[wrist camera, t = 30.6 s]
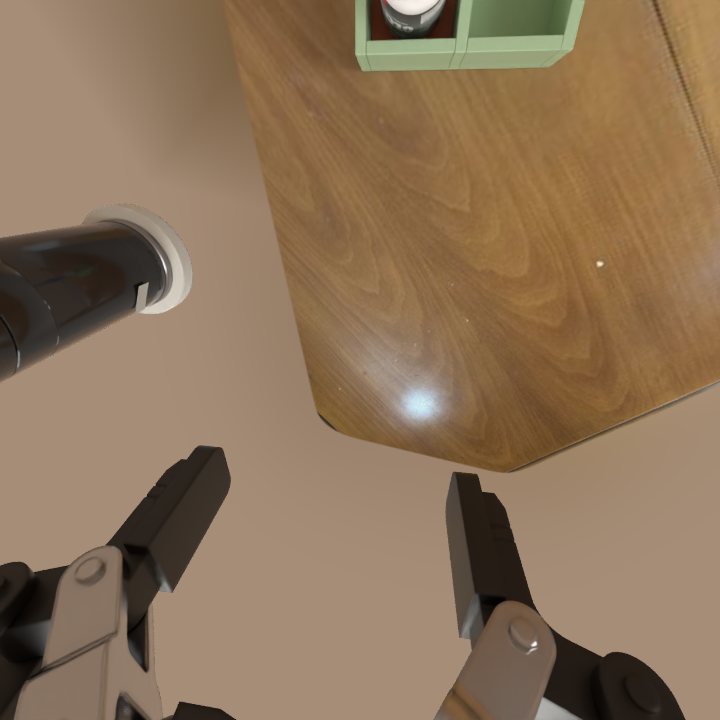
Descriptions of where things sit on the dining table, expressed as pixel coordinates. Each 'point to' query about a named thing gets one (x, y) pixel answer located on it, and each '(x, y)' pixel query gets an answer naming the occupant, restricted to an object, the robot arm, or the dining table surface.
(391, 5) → the pill bottle
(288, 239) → the dining table surface
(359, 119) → the dining table surface
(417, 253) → the dining table surface
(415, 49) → the holder
